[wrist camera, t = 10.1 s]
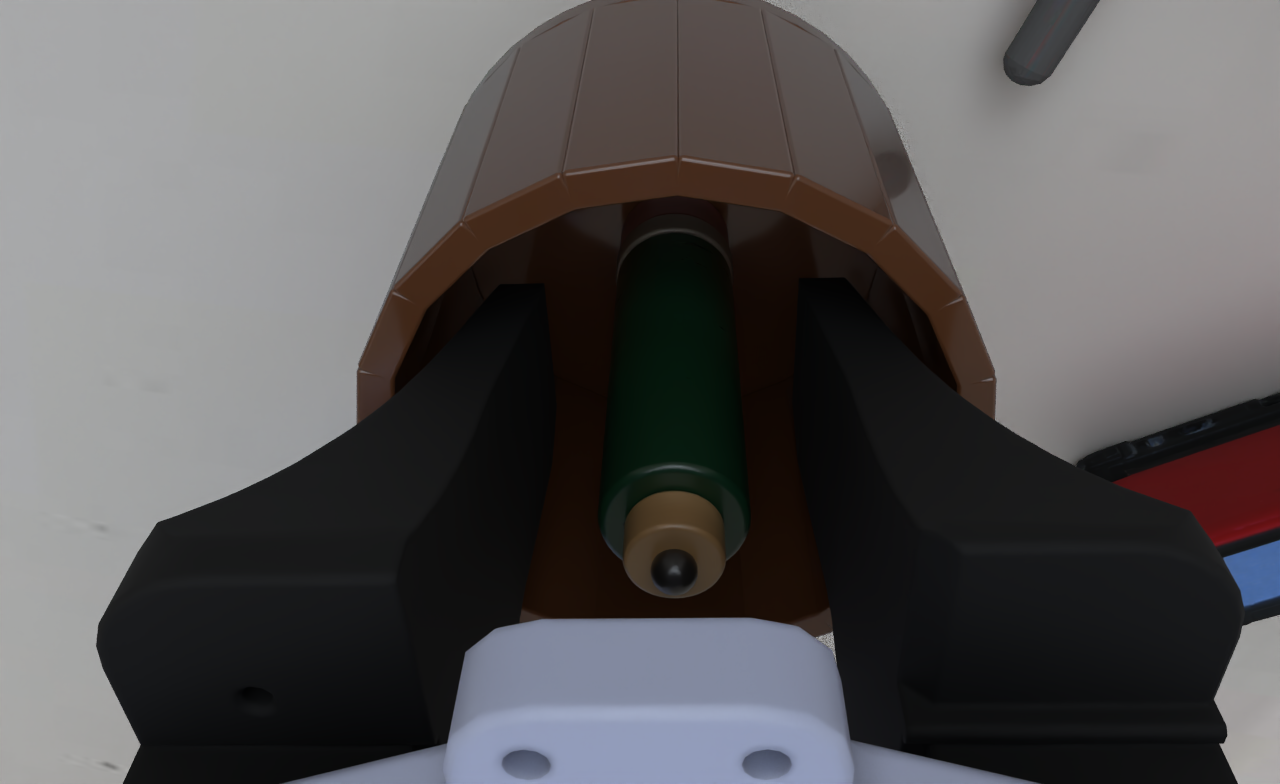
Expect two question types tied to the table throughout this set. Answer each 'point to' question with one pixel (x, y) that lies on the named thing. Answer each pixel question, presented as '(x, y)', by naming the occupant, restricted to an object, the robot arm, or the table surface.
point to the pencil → (674, 403)
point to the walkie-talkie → (1045, 39)
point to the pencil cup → (758, 240)
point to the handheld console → (1217, 488)
